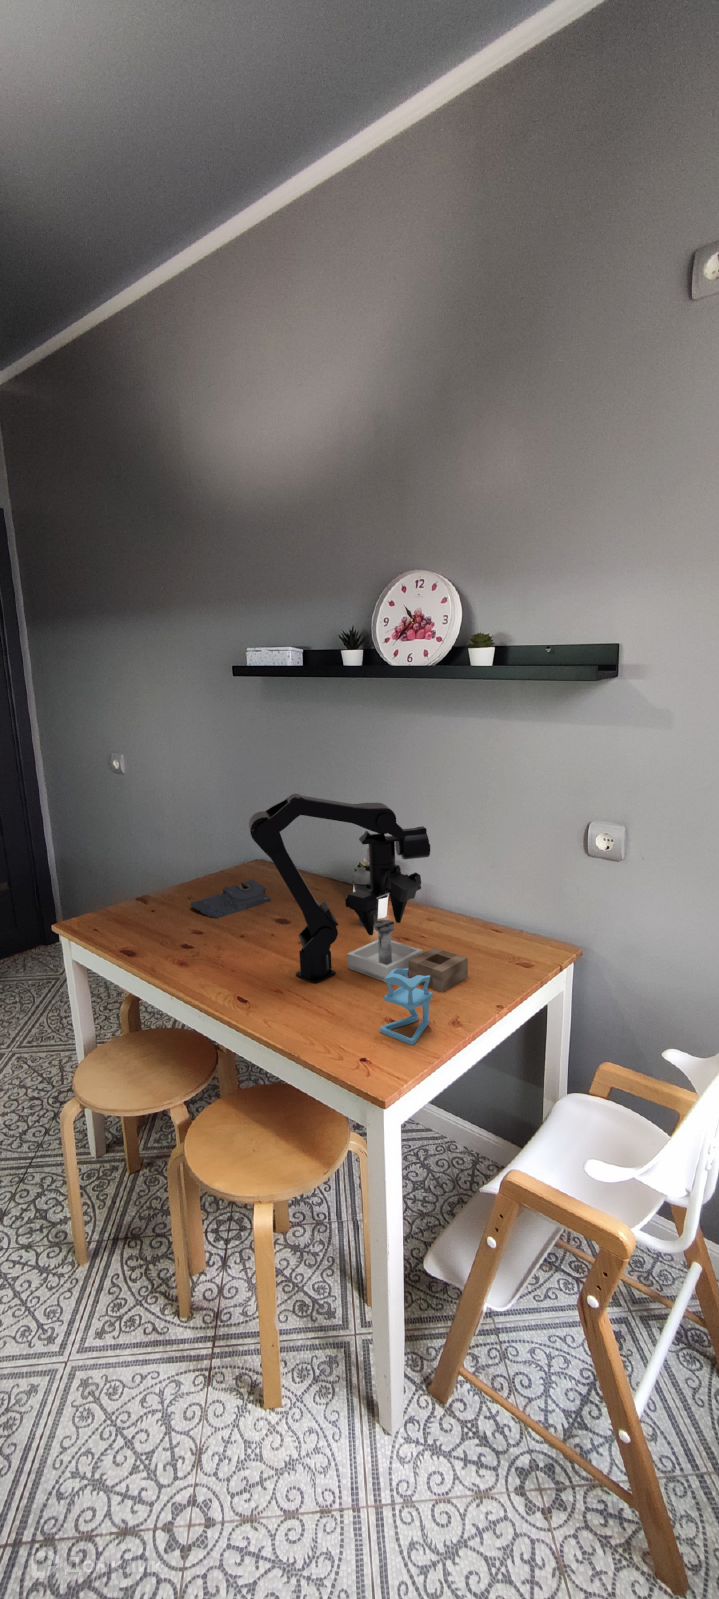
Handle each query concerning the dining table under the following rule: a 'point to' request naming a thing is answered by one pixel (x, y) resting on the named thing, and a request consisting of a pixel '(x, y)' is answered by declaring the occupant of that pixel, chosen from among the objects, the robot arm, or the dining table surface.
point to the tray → (368, 959)
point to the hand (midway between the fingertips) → (384, 928)
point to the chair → (407, 1002)
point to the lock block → (439, 968)
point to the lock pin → (384, 940)
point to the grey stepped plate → (232, 900)
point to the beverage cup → (364, 883)
